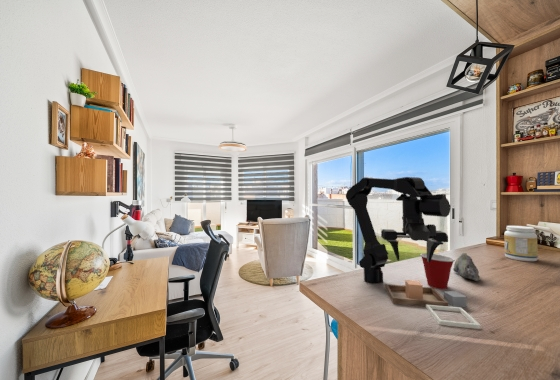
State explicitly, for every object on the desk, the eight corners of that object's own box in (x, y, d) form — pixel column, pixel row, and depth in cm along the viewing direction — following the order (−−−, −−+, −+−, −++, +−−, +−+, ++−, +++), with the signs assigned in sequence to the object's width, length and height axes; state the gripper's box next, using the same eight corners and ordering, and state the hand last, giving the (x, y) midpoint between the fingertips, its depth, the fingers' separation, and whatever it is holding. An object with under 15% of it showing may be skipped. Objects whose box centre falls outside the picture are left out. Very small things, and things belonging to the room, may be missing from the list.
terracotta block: (409, 299, 75) (408, 284, 75) (405, 294, 79) (405, 279, 79) (422, 301, 74) (422, 285, 74) (418, 295, 78) (418, 280, 78)
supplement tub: (502, 254, 131) (501, 224, 131) (533, 257, 123) (532, 226, 124) (507, 259, 121) (506, 227, 121) (541, 263, 114) (540, 229, 114)
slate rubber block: (453, 310, 70) (453, 297, 70) (444, 303, 74) (443, 291, 74) (466, 309, 70) (466, 296, 70) (456, 303, 74) (455, 291, 74)
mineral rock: (477, 285, 88) (476, 259, 88) (444, 277, 97) (443, 253, 97) (486, 277, 96) (486, 253, 96) (455, 271, 104) (455, 248, 104)
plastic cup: (462, 290, 83) (461, 257, 84) (444, 296, 79) (443, 261, 79) (432, 280, 93) (431, 250, 93) (414, 284, 89) (413, 253, 89)
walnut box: (393, 305, 72) (393, 297, 72) (385, 290, 84) (385, 284, 84) (448, 311, 69) (448, 302, 69) (432, 294, 80) (432, 287, 80)
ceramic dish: (439, 327, 61) (439, 321, 61) (425, 309, 70) (425, 304, 70) (481, 332, 58) (480, 325, 58) (461, 313, 68) (461, 307, 68)
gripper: (387, 216, 71) (388, 266, 71) (456, 217, 67) (458, 271, 66) (380, 213, 82) (381, 257, 82) (439, 213, 78) (440, 260, 77)
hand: (413, 261), depth 76 cm, fingers open, 9 cm apart
